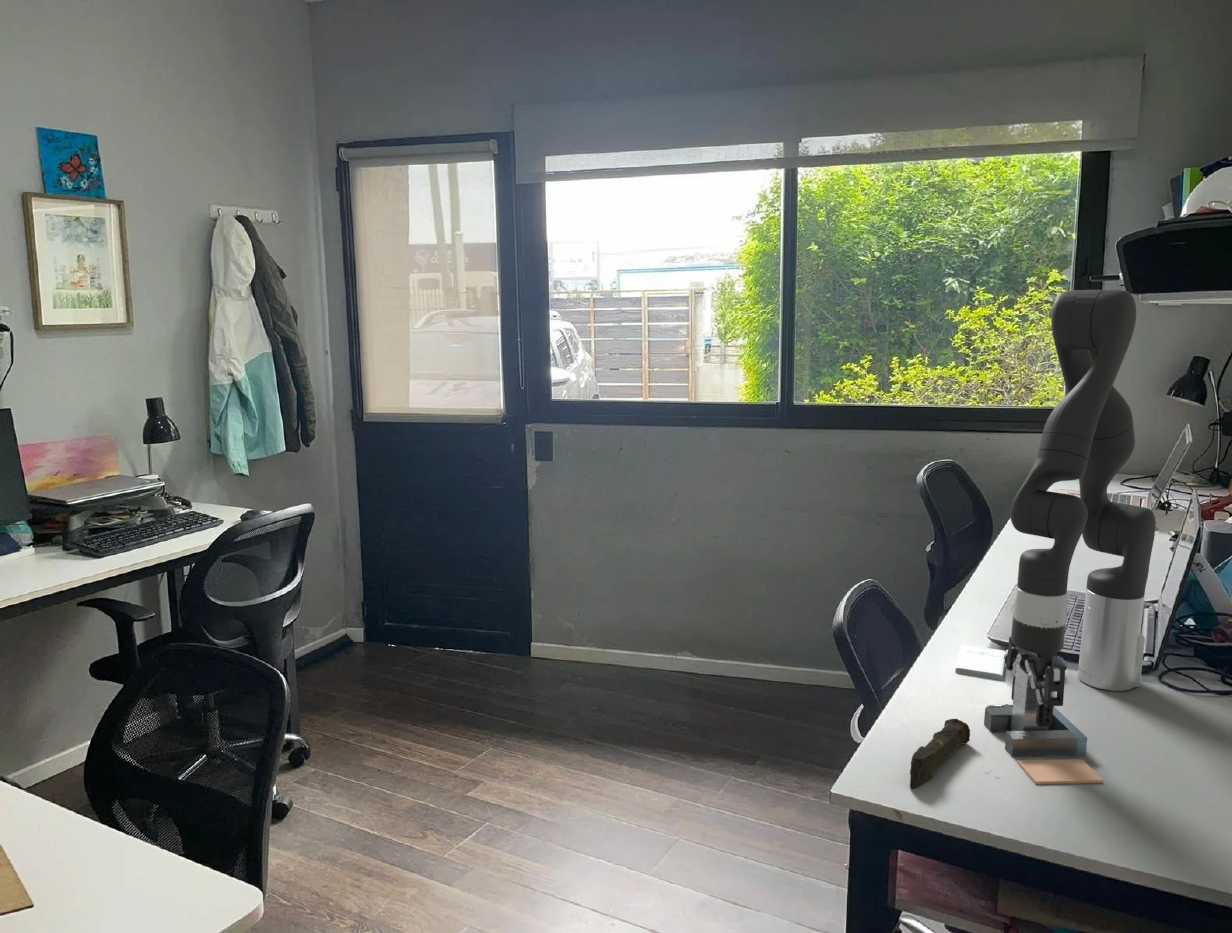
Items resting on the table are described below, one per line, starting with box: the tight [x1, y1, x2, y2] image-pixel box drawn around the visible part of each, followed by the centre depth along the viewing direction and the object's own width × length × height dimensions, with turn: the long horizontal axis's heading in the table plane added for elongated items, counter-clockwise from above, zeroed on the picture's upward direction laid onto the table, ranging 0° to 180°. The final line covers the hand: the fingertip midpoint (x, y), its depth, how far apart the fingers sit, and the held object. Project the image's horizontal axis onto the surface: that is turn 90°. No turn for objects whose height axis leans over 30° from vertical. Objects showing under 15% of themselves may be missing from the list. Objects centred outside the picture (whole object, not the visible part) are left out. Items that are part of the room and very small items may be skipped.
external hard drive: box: [954, 644, 1006, 681], centre depth 176 cm, size 2×8×12 cm
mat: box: [1016, 758, 1104, 785], centre depth 137 cm, size 10×6×1 cm, turn 91°
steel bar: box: [1011, 665, 1048, 731], centre depth 146 cm, size 4×4×12 cm
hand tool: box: [909, 718, 971, 789], centre depth 140 cm, size 19×4×5 cm, turn 138°
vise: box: [983, 703, 1088, 758], centre depth 149 cm, size 12×14×3 cm
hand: (1030, 712), depth 146 cm, fingers open, 8 cm apart
